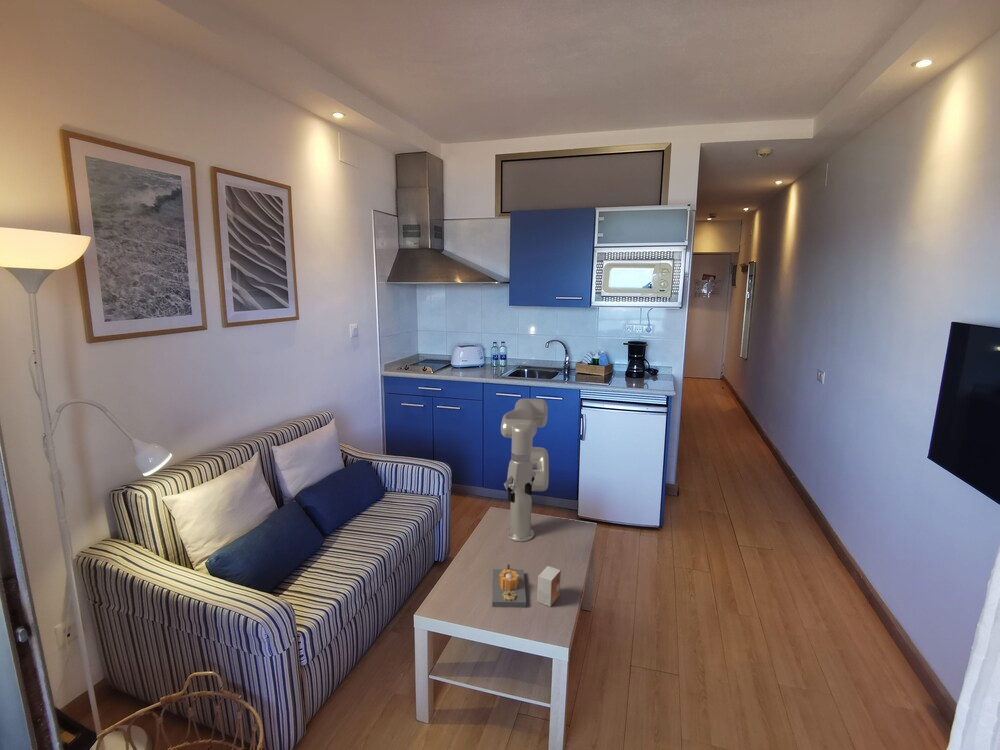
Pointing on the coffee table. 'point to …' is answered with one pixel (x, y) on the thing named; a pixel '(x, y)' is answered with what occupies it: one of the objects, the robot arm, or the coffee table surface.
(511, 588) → the gear
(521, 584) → the board
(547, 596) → the small box
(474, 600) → the coffee table surface
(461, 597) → the coffee table surface
